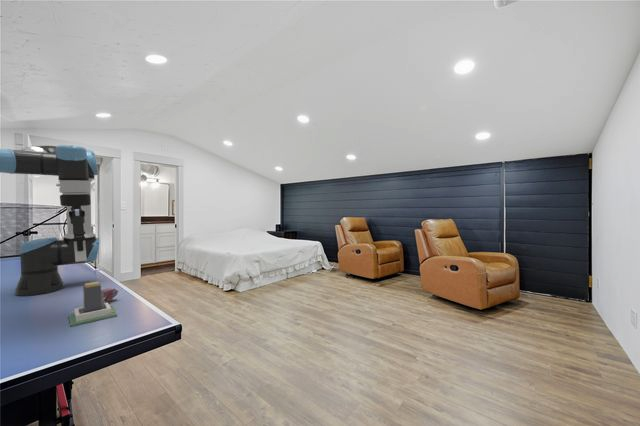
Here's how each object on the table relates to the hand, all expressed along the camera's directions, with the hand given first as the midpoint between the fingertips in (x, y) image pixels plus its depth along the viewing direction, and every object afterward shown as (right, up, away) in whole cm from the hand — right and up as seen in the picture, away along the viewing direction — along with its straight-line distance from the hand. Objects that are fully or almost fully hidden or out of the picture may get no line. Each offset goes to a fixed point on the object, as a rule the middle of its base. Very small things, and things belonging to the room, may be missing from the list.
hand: (80, 257), depth 93 cm
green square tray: (+2, -21, +3) cm, 21 cm away
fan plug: (+2, -20, +3) cm, 21 cm away
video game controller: (-4, -21, +15) cm, 26 cm away
